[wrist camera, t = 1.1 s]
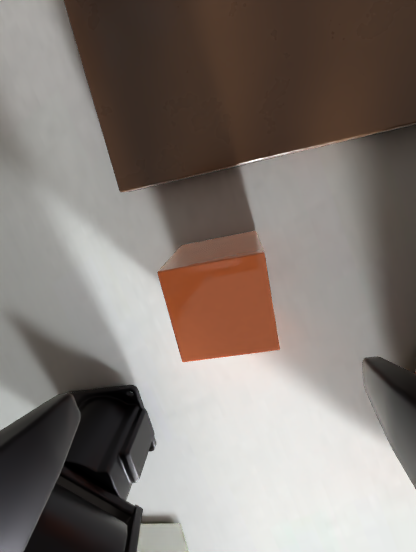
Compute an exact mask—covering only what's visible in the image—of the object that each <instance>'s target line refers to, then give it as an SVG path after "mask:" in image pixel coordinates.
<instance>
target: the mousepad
mask: <svg viewBox="0 0 416 552" xmlns="http://www.w3.org/2000/svg"><path fill="white" fill-rule="evenodd" d="M137 552H188V548H187V545H186V541H185V538H184V534H183V531H182V527H181V524H141V526H140V533H139V540H138V547H137Z"/></svg>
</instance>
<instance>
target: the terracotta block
mask: <svg viewBox="0 0 416 552" xmlns="http://www.w3.org/2000/svg"><path fill="white" fill-rule="evenodd" d="M157 273H158V276H159V280H160V284H161V287H162V291H163V294H164V298H165V302H166V305H167V309H168V312H169V316H170V319H171V323H172V327H173V330H174V334H175V337H176V341H177V344H178V348H179V352H180V355H181V359H182V362H188V361H196V360H204V359H212V358H220V357H227V356H235V355H243V354H251V353H259V352H267V351H274V350H280V346H279V340H278V334H277V327H276V321H275V315H274V309H273V303H272V296H271V290H270V284H269V278H268V271H267V265H266V259H265V253H264V250H263V248H262V245H261V242H260V239H259V237H258V234H257V231H250V232H245V233H240V234H235V235H230V236H225V237H220V238H215V239H210V240H204V241H199V242H194V243H189V244H184V245H181V246H180V247H179V248H178V249H177V251H176V252H175V253H174V254H173V255H172V256H171V257H170V258H169V260H168V261H167V262H166V263H165V264H164V265H163V266H162V267H161V268H160V270H159V271H158V272H157Z"/></svg>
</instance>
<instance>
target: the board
mask: <svg viewBox="0 0 416 552" xmlns="http://www.w3.org/2000/svg"><path fill="white" fill-rule="evenodd" d="M64 3H65V7H66V10H67V13H68V17H69V20H70V24H71V27H72V30H73V34H74V37H75V41H76V44H77V48H78V51H79V54H80V58H81V61H82V65H83V68H84V71H85V75H86V78H87V82H88V85H89V88H90V92H91V95H92V99H93V102H94V105H95V109H96V112H97V116H98V119H99V122H100V126H101V129H102V133H103V136H104V139H105V143H106V146H107V150H108V153H109V156H110V160H111V163H112V167H113V170H114V173H115V177H116V180H117V184H118V187H119V190H120V192H130V191H134V190H138V189H143V188H147V187H151V186H155V185H160V184H164V183H168V182H173V181H177V180H181V179H185V178H190V177H194V176H198V175H202V174H207V173H211V172H215V171H219V170H224V169H228V168H232V167H236V166H241V165H245V164H249V163H254V162H258V161H262V160H266V159H271V158H275V157H279V156H283V155H288V154H292V153H296V152H300V151H305V150H309V149H313V148H317V147H322V146H326V145H330V144H335V143H339V142H343V141H347V140H352V139H356V138H360V137H364V136H369V135H373V134H377V133H381V132H386V131H390V130H394V129H398V128H403V127H407V126H411V125H416V0H64Z"/></svg>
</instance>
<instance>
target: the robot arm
mask: <svg viewBox="0 0 416 552" xmlns="http://www.w3.org/2000/svg"><path fill="white" fill-rule="evenodd" d="M362 365H363V381H364V387H365V390H366V393H367V395H368V397H369V399H370V402H371V404H372V406H373V408H374V410H375V413H376V415H377V417H378V419H379V421H380V424H381V426H382V428H383V430H384V432H385V435H386V437H387V439H388V441H389V443H390V445H391V447H392V449H393V451H394V453H395V454H396V456H397V458H398V460H399V461H400V463H401V465H402V466H403V468H404V470H405V472H406V473H407V475H408V477H409V478H410V480H411V482H412V483H413V485H414V487H415V489H416V374H414V373H412V372H410V371H408V370H406V369H404V368H402V367H400V366H398V365H396V364H394V363H392V362H390V361H388V360H385V359H383V358H381V357H378V356H377V357H368V358H364V359H363V362H362ZM130 391H132V392H133V393H131V392H130ZM155 446H156V441H155V438H154V431H153V428H152V425H151V422H150V419H149V416H148V413H147V411H146V409H145V408H144V406H143V403H142V400H141V397H140V394H139V391H138V389H137V387H135V386H133V385H127V386H119V387H110V388H102V389H93V390H85V391H76V392H68V393H66V394H59V395H56V396H55V397H53V398H52V399H50V400H48V401H47V402H45V403H44V404H42V405H40V406H39V407H37V408H36V409H34V410H32V411H31V412H29V413H28V414H26V415H25V416H23V417H21V418H20V419H18V420H17V421H15V422H13V423H12V424H10V425H9V426H7V427H5V428H4V429H2V430H1V431H0V552H137V547H138V540H139V533H140V526H141V519H142V512H143V509H142V508H141V507H139V506H137V505H135V506H134V505H132V504H131V503H129V502H127V501H126V500H127V497H128V494H129V491H130V488H131V485H132V483H135V482H137V481H138V480H139V478H140V476H141V473H142V470H143V467H144V464H145V461H146V458H147V454H148V451H153V450H154V449H155Z"/></svg>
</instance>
